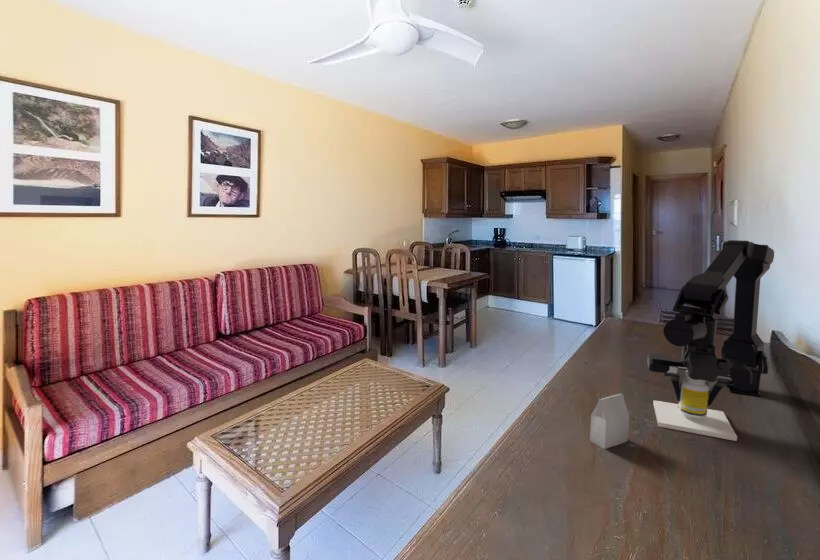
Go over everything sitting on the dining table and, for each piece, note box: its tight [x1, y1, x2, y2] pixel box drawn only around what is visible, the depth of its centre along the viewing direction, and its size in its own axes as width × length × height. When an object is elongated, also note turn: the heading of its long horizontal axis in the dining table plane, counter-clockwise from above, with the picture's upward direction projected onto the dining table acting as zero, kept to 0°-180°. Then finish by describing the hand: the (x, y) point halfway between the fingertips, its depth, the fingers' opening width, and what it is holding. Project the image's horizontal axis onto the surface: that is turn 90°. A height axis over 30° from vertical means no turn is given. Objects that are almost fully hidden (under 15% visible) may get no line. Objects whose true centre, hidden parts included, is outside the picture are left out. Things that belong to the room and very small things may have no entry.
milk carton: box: [589, 392, 630, 450], centre depth 82 cm, size 4×7×10 cm, turn 114°
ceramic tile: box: [652, 400, 738, 442], centre depth 90 cm, size 14×12×1 cm
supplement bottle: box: [677, 370, 709, 418], centre depth 90 cm, size 5×5×10 cm
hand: (693, 402), depth 90 cm, fingers closed on supplement bottle, 5 cm apart
